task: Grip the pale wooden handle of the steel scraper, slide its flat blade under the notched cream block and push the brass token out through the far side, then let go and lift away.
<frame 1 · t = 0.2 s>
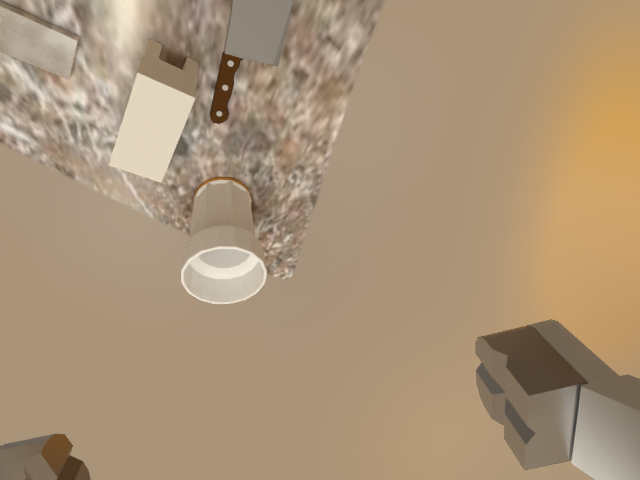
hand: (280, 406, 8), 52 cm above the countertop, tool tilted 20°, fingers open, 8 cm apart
cup: (223, 199, 67), on the countertop
notched cream block: (160, 93, 54), on the countertop
kitchen cleaver: (251, 36, 52), on the countertop
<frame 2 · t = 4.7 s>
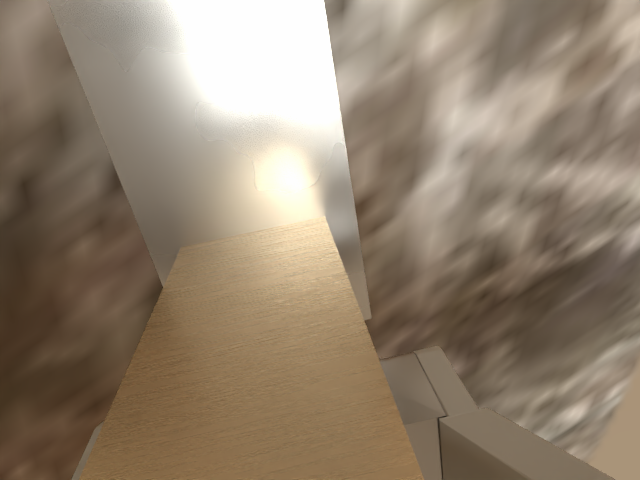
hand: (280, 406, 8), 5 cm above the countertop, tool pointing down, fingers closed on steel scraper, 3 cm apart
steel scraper: (269, 264, 12), on the countertop, touching gripper
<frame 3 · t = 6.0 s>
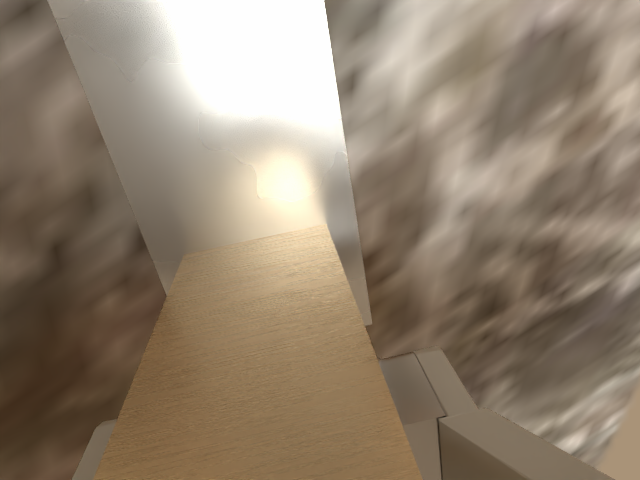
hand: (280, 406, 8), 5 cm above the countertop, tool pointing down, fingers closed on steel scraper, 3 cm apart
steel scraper: (270, 269, 12), on the countertop, touching gripper
when the fingers open (5 cm above the countertop, at t = 11.7 s): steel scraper stays where it is, on the countertop.
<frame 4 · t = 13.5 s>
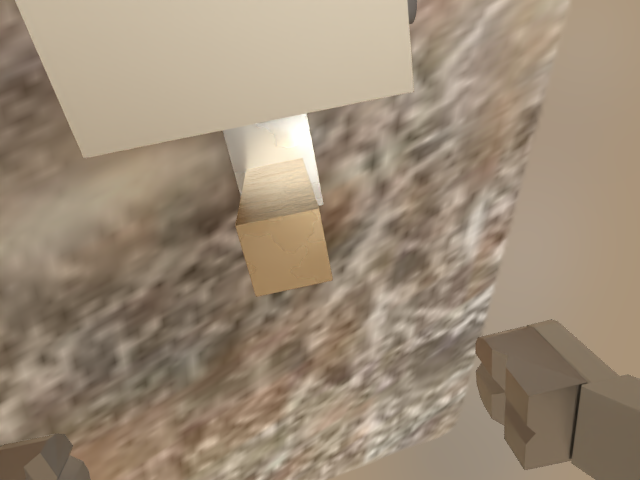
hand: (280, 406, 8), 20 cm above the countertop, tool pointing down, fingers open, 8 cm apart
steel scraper: (279, 183, 27), on the countertop
notched cream block: (245, 41, 23), on the countertop
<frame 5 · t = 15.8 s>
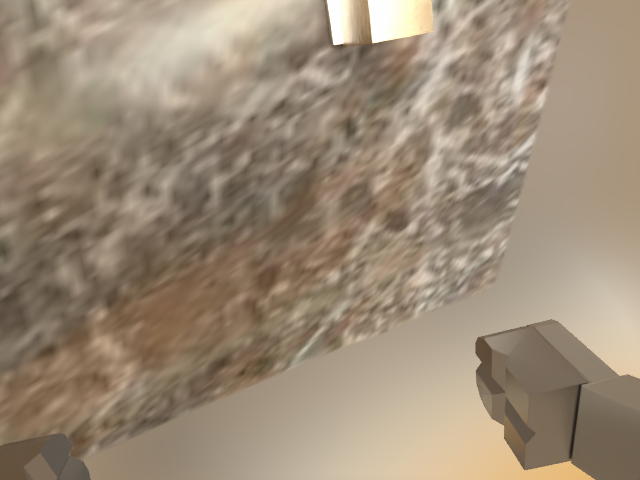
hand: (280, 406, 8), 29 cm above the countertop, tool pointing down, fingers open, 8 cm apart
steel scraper: (358, 18, 32), on the countertop
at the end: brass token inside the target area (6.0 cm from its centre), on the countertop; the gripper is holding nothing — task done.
